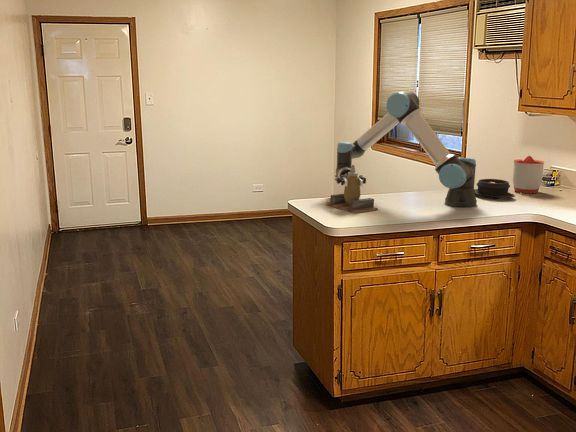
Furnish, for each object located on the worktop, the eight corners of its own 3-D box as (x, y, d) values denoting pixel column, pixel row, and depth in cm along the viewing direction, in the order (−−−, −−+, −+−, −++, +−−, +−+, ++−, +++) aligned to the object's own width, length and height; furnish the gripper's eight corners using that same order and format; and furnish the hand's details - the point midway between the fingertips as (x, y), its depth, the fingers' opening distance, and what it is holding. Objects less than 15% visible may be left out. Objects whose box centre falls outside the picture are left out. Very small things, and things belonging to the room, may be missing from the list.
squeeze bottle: (342, 200, 304) (343, 163, 300) (358, 200, 304) (359, 163, 300) (344, 204, 296) (346, 166, 292) (361, 204, 296) (363, 166, 292)
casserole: (523, 199, 323) (525, 183, 321) (495, 202, 316) (497, 186, 314) (488, 191, 345) (490, 176, 343) (462, 194, 338) (463, 178, 336)
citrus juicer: (538, 189, 352) (542, 153, 348) (543, 195, 336) (547, 157, 331) (509, 188, 355) (512, 152, 351) (512, 193, 339) (515, 156, 335)
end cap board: (378, 210, 295) (378, 199, 294) (355, 213, 288) (355, 202, 287) (348, 201, 313) (348, 192, 312) (326, 204, 306) (326, 194, 305)
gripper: (365, 183, 317) (374, 191, 294) (327, 183, 315) (333, 191, 293) (366, 168, 315) (375, 175, 293) (327, 168, 314) (333, 175, 291)
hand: (354, 183), depth 293 cm, fingers closed on squeeze bottle, 6 cm apart
